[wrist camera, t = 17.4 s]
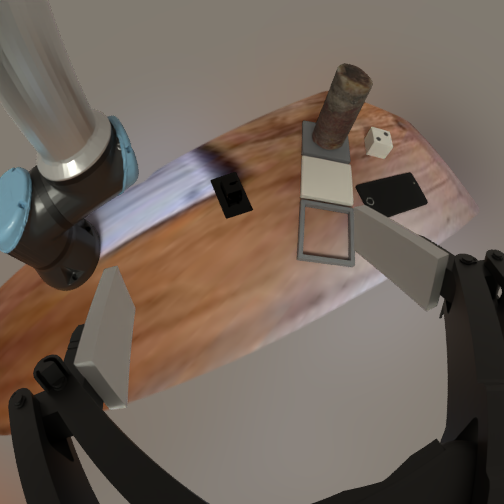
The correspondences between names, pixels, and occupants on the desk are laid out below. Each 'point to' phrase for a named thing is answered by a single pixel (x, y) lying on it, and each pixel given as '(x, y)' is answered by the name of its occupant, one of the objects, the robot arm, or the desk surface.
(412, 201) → the cell phone
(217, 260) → the desk surface
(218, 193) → the black chunky piece
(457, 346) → the robot arm
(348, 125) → the candle
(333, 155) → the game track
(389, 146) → the die
